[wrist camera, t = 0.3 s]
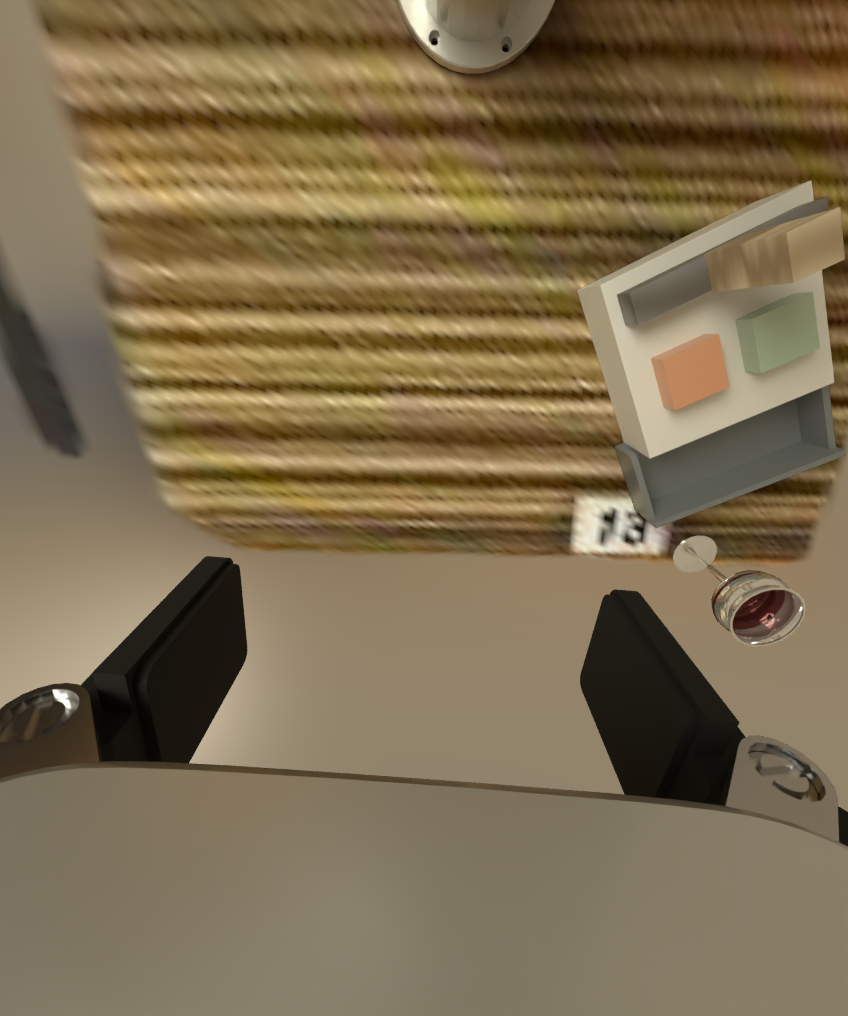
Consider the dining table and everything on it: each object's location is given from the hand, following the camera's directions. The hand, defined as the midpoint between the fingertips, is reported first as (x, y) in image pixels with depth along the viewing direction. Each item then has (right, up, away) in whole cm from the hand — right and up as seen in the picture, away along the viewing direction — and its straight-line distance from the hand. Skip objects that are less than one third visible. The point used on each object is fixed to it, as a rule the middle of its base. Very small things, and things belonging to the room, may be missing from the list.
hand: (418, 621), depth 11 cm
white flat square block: (+25, +20, +31) cm, 44 cm away
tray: (+30, +10, +35) cm, 47 cm away
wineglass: (+32, -2, +40) cm, 51 cm away
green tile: (+29, +17, +25) cm, 42 cm away
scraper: (+23, +22, +23) cm, 39 cm away
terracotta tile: (+22, +15, +26) cm, 38 cm away
